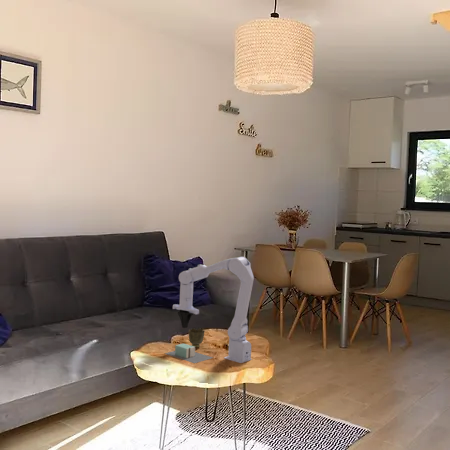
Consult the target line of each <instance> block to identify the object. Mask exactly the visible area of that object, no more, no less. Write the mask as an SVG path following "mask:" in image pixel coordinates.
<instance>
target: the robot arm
mask: <svg viewBox="0 0 450 450" xmlns="http://www.w3.org/2000/svg"><path fill="white" fill-rule="evenodd" d="M251 264H252V263H251V262H250V261H249V260H248V259H247V257H245V256H238V257H231V258H227V259H224V260H223V259H222V260H220V261H217V262H215V263H213V264H210V265H205V264H201V263H200V264H197V266H195V267H193V268H191V267H190V268H188V270H183V271H181V272H179V275H178V281H179V283H180V286H179V288H180V289H179V304H178V303H177V304H176V303H175V304H173V305H172V310H178V311H177V315H178V317H179V319H180V323H181V324H180V325H181V327H182V328H183V329H185V328H188V327H189V322H190V320H191V318H192V316H193V315H200V309H197V308H196V307H194V306H193V300H194V299H193V295H194V282H196V281H197V282H198V281H201V280H203V279H206V278H208V277H209V275H210V274H211V273H214V272H216V271H217V272H218V271H221V270H223V269H224V270H226V271H230V272H231V273H232V274H234V275H235V276H237V278H238V279H239V281H240V285H239V291H238V295H237V301H236V306H235V312H234V316H233V318H232V321H231V323H230V326H229V327H228V329H227V335H228V356H225V357H223V358H224V359H226V360H229V361H232V362H236V363H239V364H242V363H245V362H248V361H251V360H253V359H252V343H251V342H250V341H248V340H247V337H246V334H247V333H248V331H249V326H248V322H249V321H248V317H247V316H248V310H249V305H250V302H251V301H250V300H251V296H252V290H253V285H254V280H255V279H254V278H255V276H254V273H253V270H252V268H251Z"/></svg>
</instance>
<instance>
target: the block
mask: <svg viewBox="0 0 450 450" xmlns="http://www.w3.org/2000/svg"><path fill="white" fill-rule="evenodd" d="M174 347H175V350H174V351H175V355H178V356H181V357H184V358H189V357H193V356H195V352H196V347H194V346H192V344H191V345H190V344H186V343H179V344H175V346H174Z"/></svg>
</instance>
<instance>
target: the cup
mask: <svg viewBox="0 0 450 450" xmlns="http://www.w3.org/2000/svg"><path fill="white" fill-rule="evenodd" d="M204 336H205V329H203V328H198V329H197V328H189V329H188V340H189V342H190V344H191V346H194V347H195V348H200V346H201V344H202V343H203V342H204Z"/></svg>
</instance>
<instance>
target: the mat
mask: <svg viewBox="0 0 450 450" xmlns="http://www.w3.org/2000/svg"><path fill="white" fill-rule="evenodd" d="M164 354H165V355H168V356H171V357H174V358H176V359H180V360H182V361H186V362H189V363H192V364H198V363H201V362H204V361H208V360H211V359H214V357H213V356H211V355H210V356H209V355H206V354H203V353H200V352H196V351H195V356H193V357H189V358H184V357H181V356H178V355H175V350H172V351H168V352H165V353H164Z"/></svg>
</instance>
